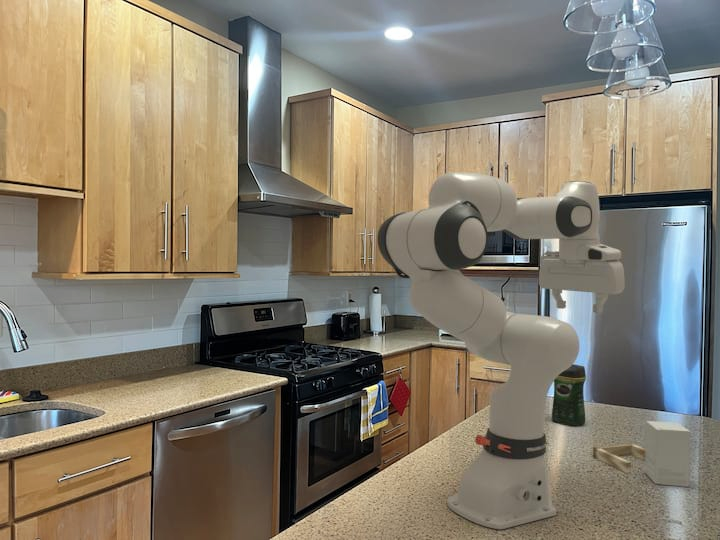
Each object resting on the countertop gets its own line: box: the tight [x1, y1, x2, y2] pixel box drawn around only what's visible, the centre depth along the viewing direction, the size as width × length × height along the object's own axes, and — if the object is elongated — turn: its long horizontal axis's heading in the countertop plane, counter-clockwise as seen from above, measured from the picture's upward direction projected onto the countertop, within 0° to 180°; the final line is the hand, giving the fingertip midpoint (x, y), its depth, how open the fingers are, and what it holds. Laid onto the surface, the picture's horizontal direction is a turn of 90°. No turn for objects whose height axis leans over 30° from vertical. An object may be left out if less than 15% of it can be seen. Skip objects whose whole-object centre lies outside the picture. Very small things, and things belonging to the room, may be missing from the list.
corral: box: [592, 443, 646, 474], centre depth 135 cm, size 11×12×2 cm
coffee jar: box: [551, 363, 587, 427], centre depth 169 cm, size 10×8×19 cm
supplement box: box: [644, 420, 691, 488], centre depth 124 cm, size 7×7×13 cm
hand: (579, 310), depth 126 cm, fingers open, 8 cm apart
